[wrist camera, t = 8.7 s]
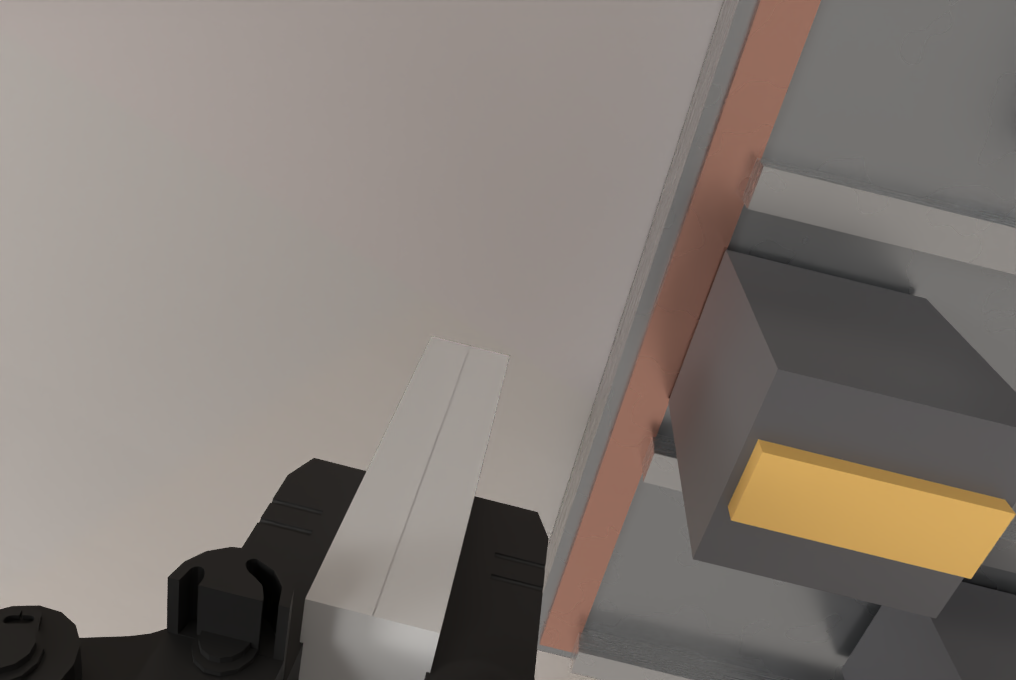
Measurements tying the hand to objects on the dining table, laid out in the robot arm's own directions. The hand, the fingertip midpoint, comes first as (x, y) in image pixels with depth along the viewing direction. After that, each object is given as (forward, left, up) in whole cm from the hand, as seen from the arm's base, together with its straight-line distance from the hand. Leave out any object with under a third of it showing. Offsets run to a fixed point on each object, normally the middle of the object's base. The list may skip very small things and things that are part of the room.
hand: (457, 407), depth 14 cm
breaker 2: (+8, 0, -6) cm, 10 cm away
